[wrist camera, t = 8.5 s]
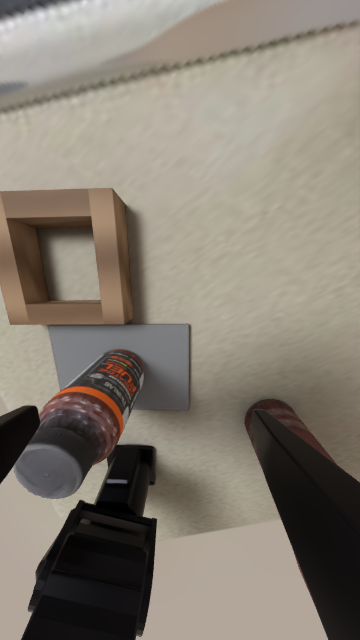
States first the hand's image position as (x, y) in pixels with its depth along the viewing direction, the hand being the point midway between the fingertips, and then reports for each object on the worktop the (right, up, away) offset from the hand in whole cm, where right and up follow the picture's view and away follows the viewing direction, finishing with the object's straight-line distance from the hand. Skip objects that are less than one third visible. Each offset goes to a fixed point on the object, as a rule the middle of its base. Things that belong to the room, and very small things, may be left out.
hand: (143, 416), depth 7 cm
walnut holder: (-10, +10, +11) cm, 18 cm away
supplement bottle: (-5, -2, +14) cm, 15 cm away
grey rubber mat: (-5, -2, +14) cm, 15 cm away
